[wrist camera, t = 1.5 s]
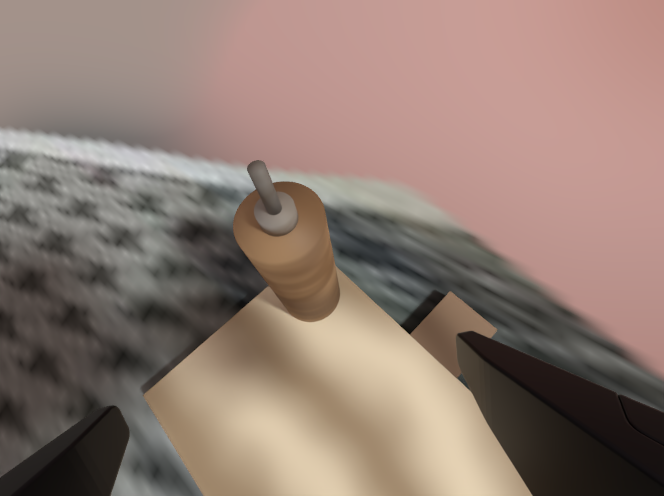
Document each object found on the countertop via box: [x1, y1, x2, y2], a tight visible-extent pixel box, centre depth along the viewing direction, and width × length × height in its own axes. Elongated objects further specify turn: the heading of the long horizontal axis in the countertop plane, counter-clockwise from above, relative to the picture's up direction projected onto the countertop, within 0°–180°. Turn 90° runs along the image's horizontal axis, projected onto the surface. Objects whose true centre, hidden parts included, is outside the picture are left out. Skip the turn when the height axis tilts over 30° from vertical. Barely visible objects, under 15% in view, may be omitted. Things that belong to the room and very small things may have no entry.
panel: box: [143, 266, 532, 496], centre depth 17 cm, size 22×26×1 cm
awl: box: [233, 160, 340, 322], centre depth 16 cm, size 4×4×13 cm
